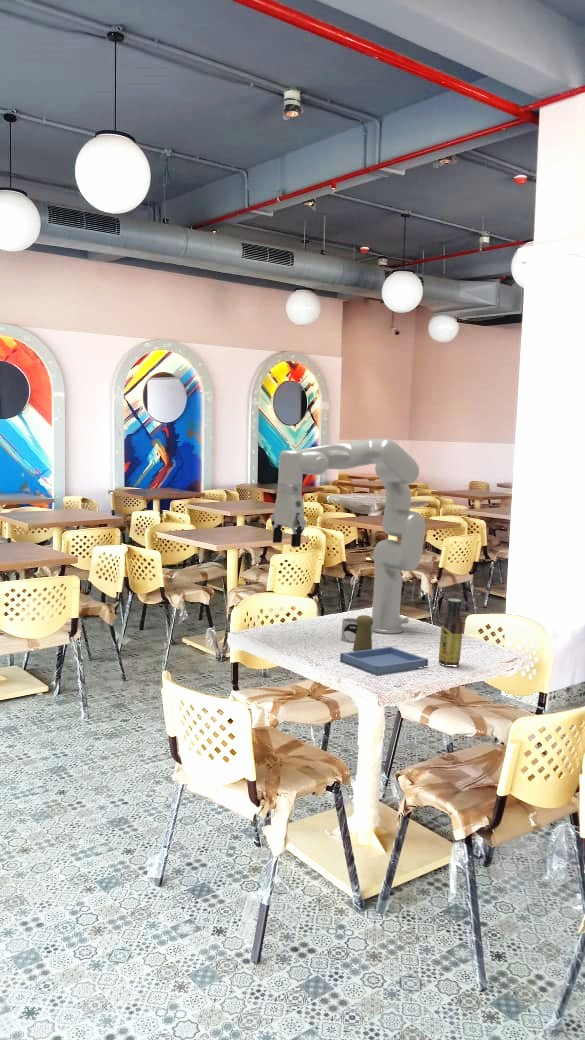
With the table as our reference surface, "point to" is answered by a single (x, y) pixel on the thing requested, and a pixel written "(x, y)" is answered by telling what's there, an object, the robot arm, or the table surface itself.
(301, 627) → the table surface
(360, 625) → the cork
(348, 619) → the mug
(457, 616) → the sauce bottle
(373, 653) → the tray
